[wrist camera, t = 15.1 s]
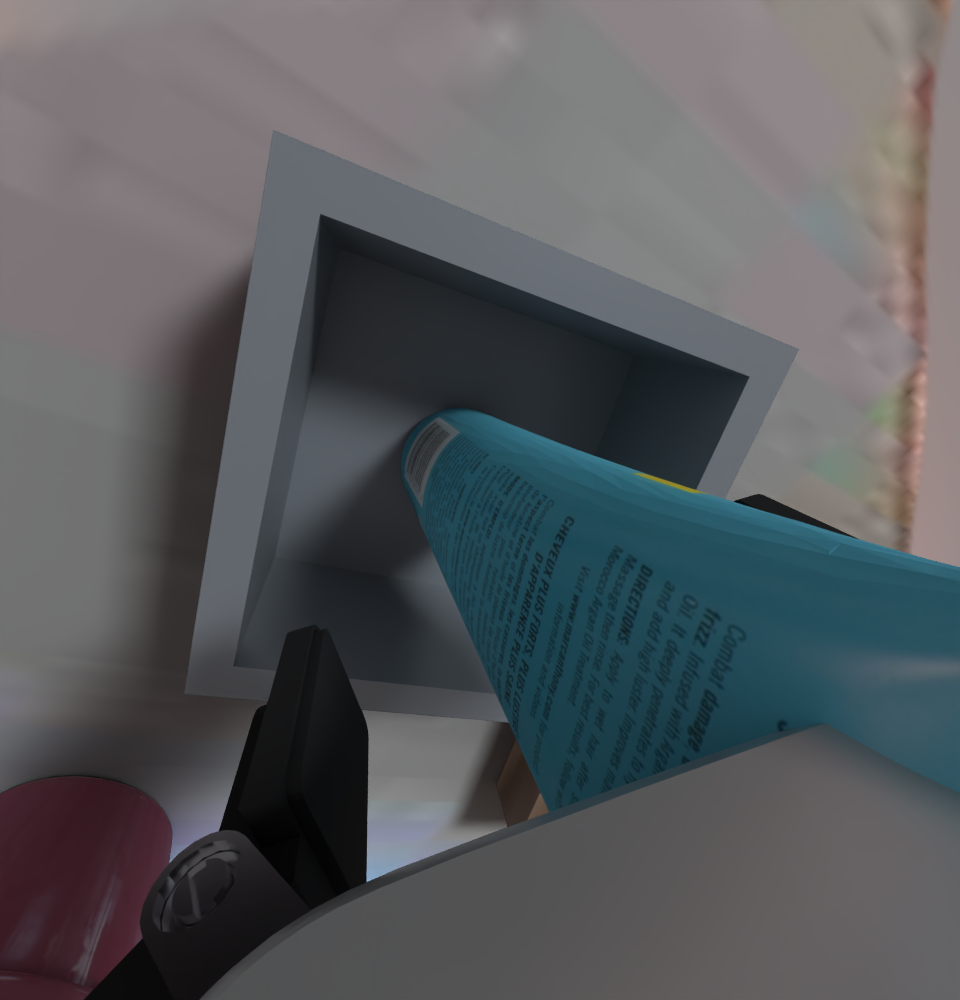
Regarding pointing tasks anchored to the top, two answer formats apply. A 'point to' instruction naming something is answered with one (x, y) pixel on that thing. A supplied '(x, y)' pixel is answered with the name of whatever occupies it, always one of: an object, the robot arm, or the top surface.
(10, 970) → the plant pot
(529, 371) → the bin
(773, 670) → the tube
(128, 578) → the top surface
